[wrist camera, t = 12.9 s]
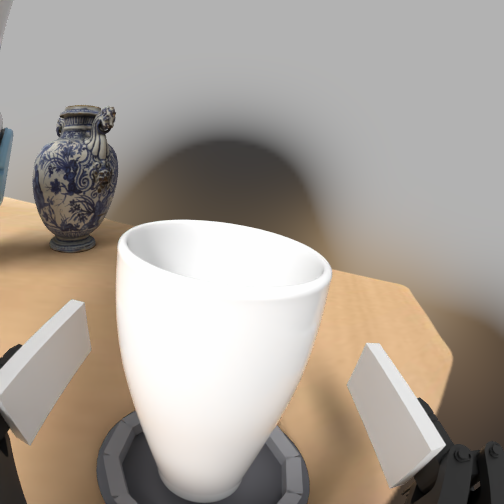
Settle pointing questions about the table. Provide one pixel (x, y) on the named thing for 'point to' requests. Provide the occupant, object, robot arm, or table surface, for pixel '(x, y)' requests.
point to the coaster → (163, 500)
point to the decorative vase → (76, 177)
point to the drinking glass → (214, 343)
